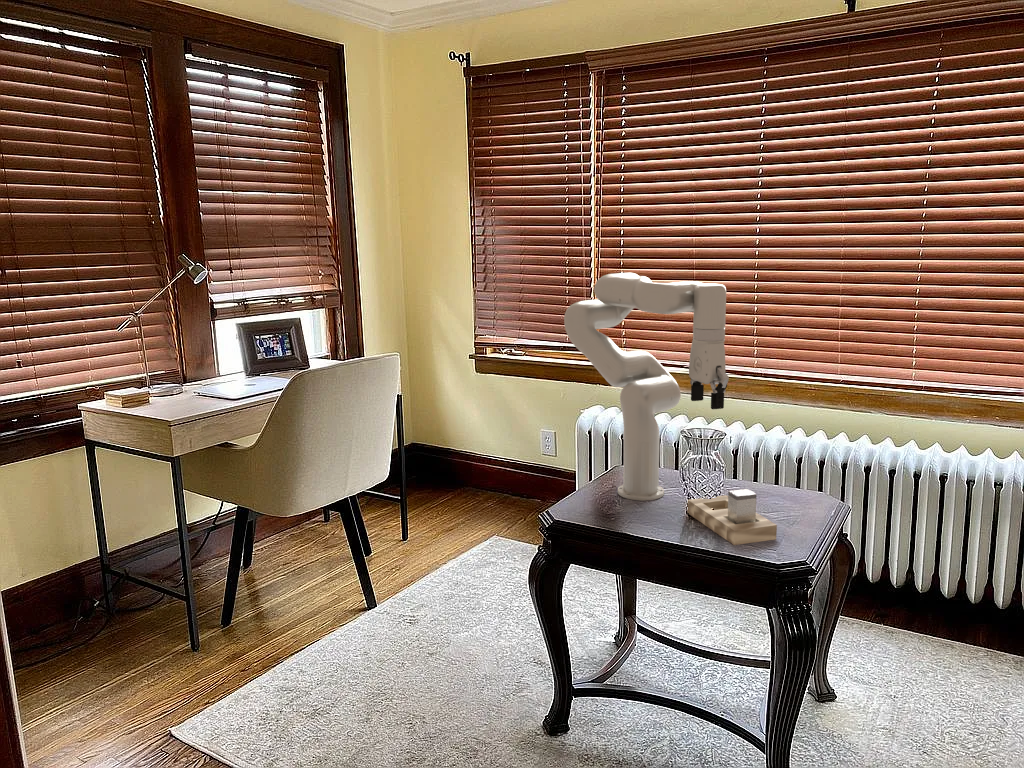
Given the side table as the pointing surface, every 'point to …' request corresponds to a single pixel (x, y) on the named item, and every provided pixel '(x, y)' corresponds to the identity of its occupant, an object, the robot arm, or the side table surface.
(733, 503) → the white rectangular block
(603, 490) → the side table surface
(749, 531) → the tan cinder block
